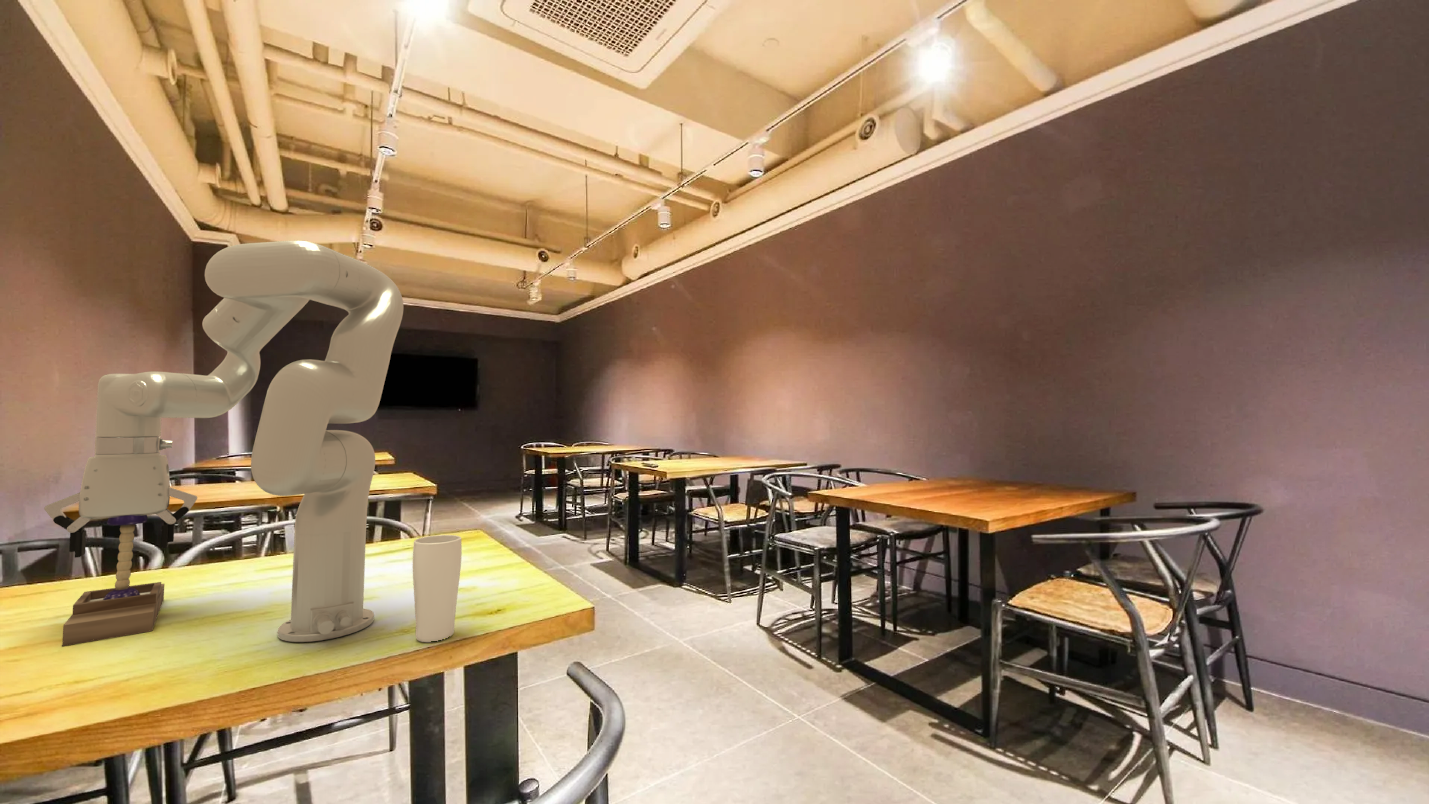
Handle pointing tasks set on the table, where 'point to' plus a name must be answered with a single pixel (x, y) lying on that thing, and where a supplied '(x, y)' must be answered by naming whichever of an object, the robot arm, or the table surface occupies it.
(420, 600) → the drinking glass
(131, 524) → the toy lamp
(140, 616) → the display stand
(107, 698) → the table surface
